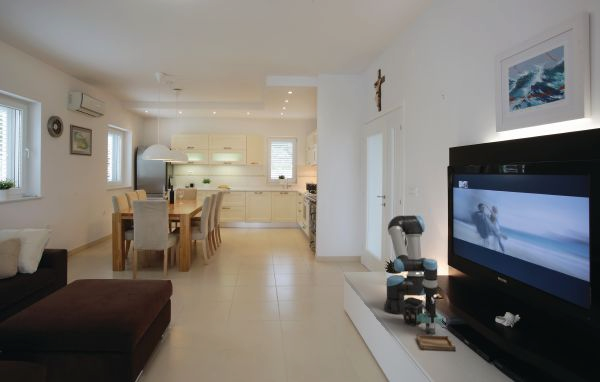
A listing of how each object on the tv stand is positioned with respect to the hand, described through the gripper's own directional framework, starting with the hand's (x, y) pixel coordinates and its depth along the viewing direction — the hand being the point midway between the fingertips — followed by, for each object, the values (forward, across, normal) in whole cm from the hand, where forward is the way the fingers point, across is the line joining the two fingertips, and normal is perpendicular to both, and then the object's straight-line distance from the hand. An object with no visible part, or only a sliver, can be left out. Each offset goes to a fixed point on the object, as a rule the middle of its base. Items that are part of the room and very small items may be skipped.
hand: (430, 325), depth 206 cm
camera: (+5, -13, -8) cm, 16 cm away
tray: (+4, +15, -1) cm, 16 cm away
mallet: (+5, 0, 0) cm, 5 cm away
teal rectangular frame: (-2, 0, 0) cm, 2 cm away
